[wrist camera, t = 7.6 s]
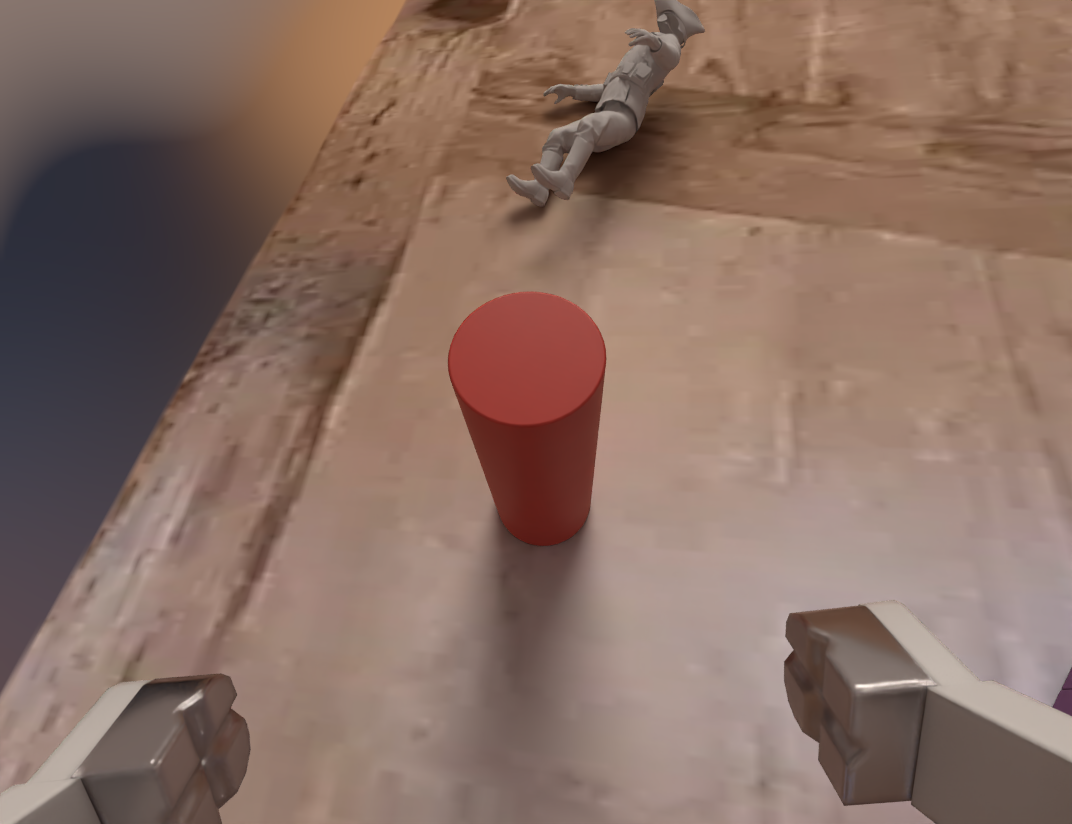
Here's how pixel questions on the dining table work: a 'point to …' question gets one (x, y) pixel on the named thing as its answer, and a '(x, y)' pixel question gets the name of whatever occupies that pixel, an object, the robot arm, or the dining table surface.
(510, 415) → the red cylinder
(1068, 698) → the purple six-cell grid
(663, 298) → the dining table surface
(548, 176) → the soldier figure
